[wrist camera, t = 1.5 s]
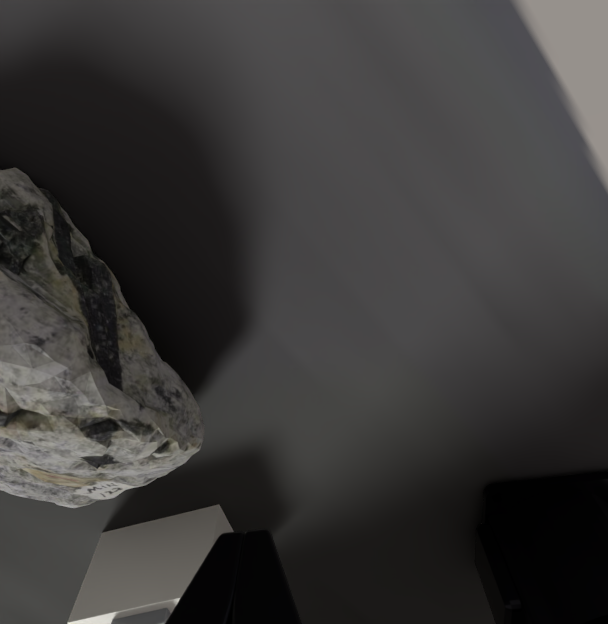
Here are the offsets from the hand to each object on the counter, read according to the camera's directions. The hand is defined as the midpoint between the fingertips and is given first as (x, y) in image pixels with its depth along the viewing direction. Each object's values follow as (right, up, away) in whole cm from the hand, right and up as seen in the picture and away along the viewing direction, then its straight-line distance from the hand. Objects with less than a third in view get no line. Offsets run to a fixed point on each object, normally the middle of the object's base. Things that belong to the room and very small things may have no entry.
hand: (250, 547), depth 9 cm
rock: (-10, +3, +12) cm, 16 cm away
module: (-5, -8, +18) cm, 20 cm away
